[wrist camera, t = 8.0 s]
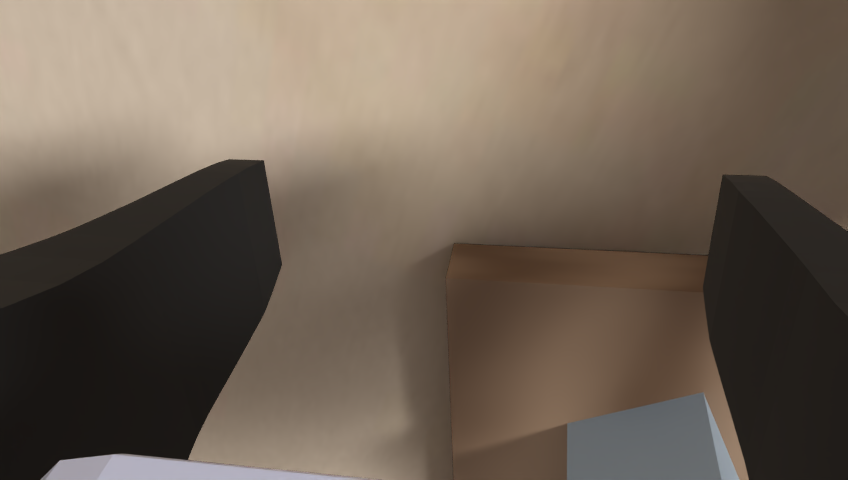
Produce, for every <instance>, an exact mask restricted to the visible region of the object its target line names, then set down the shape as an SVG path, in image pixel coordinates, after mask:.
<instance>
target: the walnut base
mask: <svg viewBox="0 0 848 480" xmlns="http://www.w3.org/2000/svg"><path fill="white" fill-rule="evenodd" d="M707 260H708V256H706V255H685V254H664V253H643V252H622V251H601V250H580V249H559V248H538V247H517V246H496V245H475V244H454V246H453V250H452V254H451V259H450V263H449V267H448V271H447V275H446V300H447V325H448V351H449V377H450V403H451V429H452V454H453V480H567V423H571V422H576V421H580V420H584V419H589V418H593V417H598V416H602V415H606V414H611V413H615V412H619V411H624V410H628V409H632V408H637V407H641V406H646V405H650V404H654V403H659V402H663V401H667V400H672V399H676V398H680V397H685V396H689V395H694V394H698V393H702V392H703V393H704V395H705V398H706V400H707V402H708V405H709V407H710V410H711V412H712V415H713V417H714V419H715V422H716V424H717V427H718V429H719V431H720V434H721V436H722V439H723V441H724V444H725V446H726V448H727V451H728V453H729V456H730V458H731V460H732V463H733V465H734V468H735V470H736V473H737V475H738V477H739V480H749V478H748V474H747V469H746V465H745V461H744V458H743V454H742V451H741V447H740V444H739V441H738V437H737V434H736V431H735V427H734V424H733V420H732V417H731V414H730V410H729V407H728V403H727V400H726V397H725V393H724V390H723V386H722V383H721V380H720V376H719V373H718V369H717V366H716V362H715V359H714V355H713V351H712V348H711V344H710V340H709V333H708V326H707V319H706V311H705V303H704V294H703V283H704V277H705V272H706V266H707Z"/></svg>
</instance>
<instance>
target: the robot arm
mask: <svg viewBox="0 0 848 480" xmlns="http://www.w3.org/2000/svg"><path fill="white" fill-rule="evenodd" d="M281 266H282V262H281V257H280V251H279V245H278V239H277V234H276V228H275V222H274V216H273V211H272V205H271V199H270V194H269V188H268V182H267V176H266V171H265V165H264V160H231V159H229V160H225V161H222V162H219V163H216V164H213V165H211V166H209V167H206V168H204V169H202V170H199V171H197V172H195V173H193V174H191V175H188V176H186V177H184V178H182V179H180V180H178V181H176V182H174V183H172V184H170V185H168V186H165V187H163V188H161V189H159V190H157V191H155V192H153V193H151V194H149V195H147V196H145V197H143V198H141V199H139V200H137V201H134V202H132V203H130V204H128V205H126V206H124V207H121V208H119V209H117V210H115V211H112V212H110V213H108V214H106V215H103V216H101V217H99V218H96V219H94V220H92V221H90V222H87V223H85V224H83V225H81V226H78V227H76V228H74V229H71V230H69V231H66V232H64V233H61V234H58V235H56V236H53V237H51V238H48V239H45V240H42V241H40V242H37V243H34V244H31V245H28V246H25V247H22V248H19V249H16V250H14V251H10V252H7V253H4V254H1V255H0V480H380V479H371V478H361V477H351V476H341V475H331V474H321V473H311V472H301V471H291V470H281V469H271V468H261V467H251V466H241V465H231V464H221V463H211V462H201V461H191V460H188V458H189V455H190V453H191V450H192V448H193V446H194V443H195V441H196V438H197V436H198V434H199V432H200V430H201V428H202V426H203V424H204V422H205V420H206V418H207V416H208V414H209V412H210V410H211V408H212V407H213V405H214V403H215V401H216V400H217V398H218V396H219V394H220V392H221V391H222V389H223V387H224V385H225V383H226V382H227V380H228V378H229V376H230V375H231V373H232V371H233V369H234V367H235V366H236V364H237V362H238V360H239V358H240V357H241V355H242V353H243V351H244V350H245V348H246V346H247V344H248V342H249V340H250V339H251V337H252V335H253V333H254V331H255V329H256V328H257V326H258V324H259V322H260V320H261V318H262V316H263V314H264V313H265V310H266V308H267V305H268V302H269V300H270V297H271V295H272V292H273V289H274V286H275V283H276V280H277V277H278V274H279V272H280V269H281ZM703 294H704V303H705V311H706V319H707V326H708V333H709V340H710V344H711V348H712V351H713V355H714V359H715V362H716V366H717V369H718V373H719V376H720V380H721V383H722V386H723V390H724V393H725V397H726V400H727V403H728V407H729V410H730V414H731V417H732V420H733V424H734V427H735V431H736V434H737V437H738V441H739V444H740V447H741V451H742V454H743V458H744V461H745V465H746V469H747V474H748V478H749V480H848V231H846V230H845V229H843V228H842V227H841V226H839V225H838V224H836V223H835V222H833V221H832V220H830V219H829V218H828V217H826V216H825V215H823V214H822V213H821V212H819V211H818V210H816V209H815V208H814V207H812V206H811V205H809V204H808V203H807V202H805V201H804V200H802V199H801V198H800V197H798V196H797V195H795V194H794V193H792V192H791V191H790V190H788V189H787V188H785V187H784V186H782V185H781V184H779V183H778V182H776V181H774V180H773V179H771V178H769V177H767V176H748V175H723V176H722V182H721V188H720V193H719V199H718V204H717V210H716V216H715V221H714V227H713V232H712V238H711V244H710V249H709V255H708V260H707V266H706V272H705V277H704V283H703Z"/></svg>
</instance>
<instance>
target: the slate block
mask: <svg viewBox="0 0 848 480" xmlns="http://www.w3.org/2000/svg"><path fill="white" fill-rule="evenodd" d="M567 480H739V477H738V475H737V473H736V470H735V468H734V465H733V463H732V460H731V458H730V456H729V453H728V451H727V448H726V446H725V444H724V441H723V439H722V436H721V434H720V431H719V429H718V427H717V424H716V422H715V419H714V417H713V415H712V412H711V410H710V407H709V405H708V402H707V400H706V398H705V395H704V393H703V392H702V393H698V394H694V395H689V396H685V397H680V398H676V399H672V400H667V401H663V402H659V403H654V404H650V405H646V406H641V407H637V408H632V409H628V410H624V411H619V412H615V413H611V414H606V415H602V416H598V417H593V418H589V419H584V420H580V421H576V422H571V423H567Z"/></svg>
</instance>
